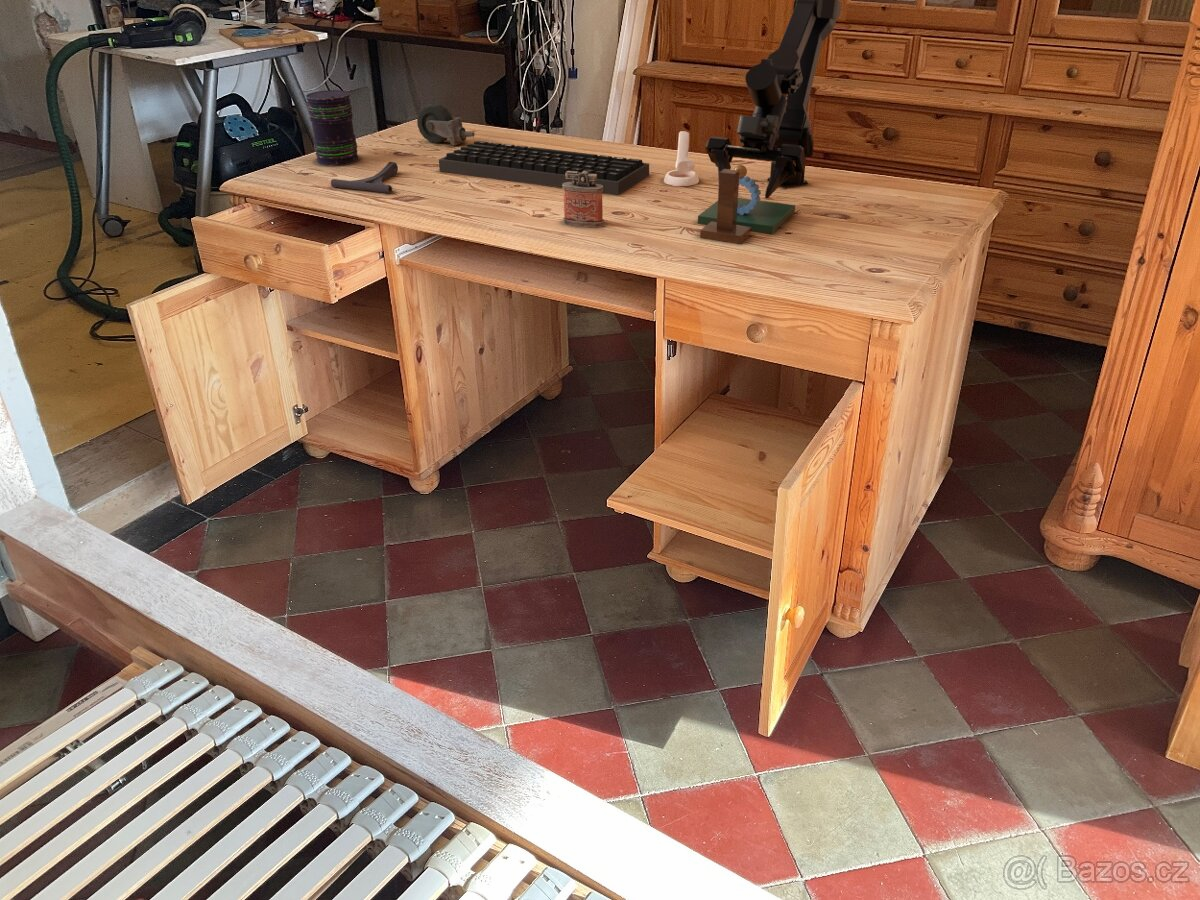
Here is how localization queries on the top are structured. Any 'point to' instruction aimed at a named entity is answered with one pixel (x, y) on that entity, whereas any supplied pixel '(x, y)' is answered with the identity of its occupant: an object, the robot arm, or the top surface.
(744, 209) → the blue fluted ring
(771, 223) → the cutting board
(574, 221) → the lighter
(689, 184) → the white piece
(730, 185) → the peg stand
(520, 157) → the computer keyboard
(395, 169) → the dark grey branched pipe
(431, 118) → the caster wheel
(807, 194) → the top surface
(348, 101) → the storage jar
